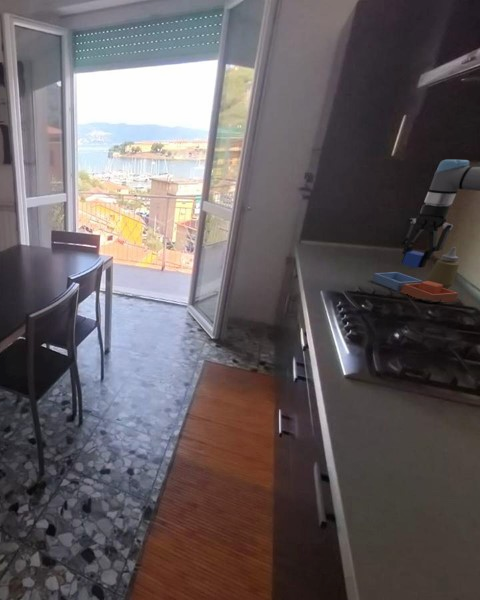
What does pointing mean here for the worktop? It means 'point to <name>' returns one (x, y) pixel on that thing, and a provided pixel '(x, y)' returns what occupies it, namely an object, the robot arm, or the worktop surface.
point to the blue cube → (413, 259)
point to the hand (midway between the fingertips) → (412, 264)
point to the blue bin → (394, 280)
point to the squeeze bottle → (445, 269)
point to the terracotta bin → (417, 293)
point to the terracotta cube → (430, 287)
